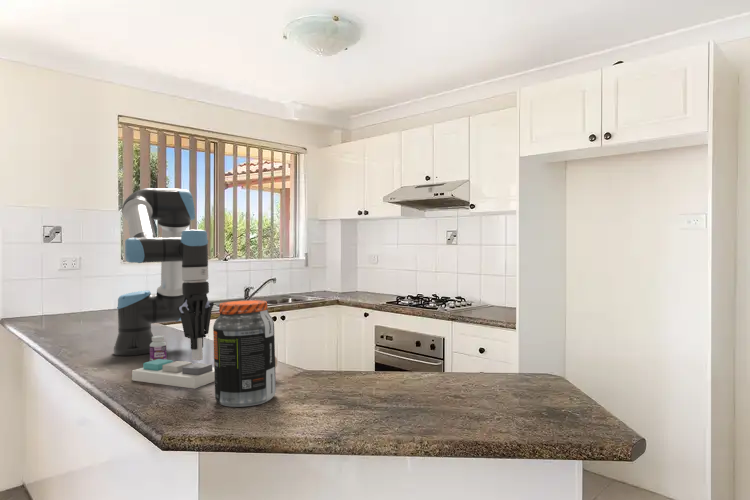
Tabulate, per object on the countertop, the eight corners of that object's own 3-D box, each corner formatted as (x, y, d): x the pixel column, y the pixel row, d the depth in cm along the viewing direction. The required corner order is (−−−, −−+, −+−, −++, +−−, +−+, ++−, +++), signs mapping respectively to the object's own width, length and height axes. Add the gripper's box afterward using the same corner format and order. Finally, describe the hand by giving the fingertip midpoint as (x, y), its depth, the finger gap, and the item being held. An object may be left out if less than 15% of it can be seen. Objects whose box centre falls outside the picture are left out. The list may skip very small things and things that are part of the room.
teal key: (158, 368, 165) (158, 358, 165) (172, 369, 162) (172, 360, 162) (143, 372, 159) (143, 363, 159) (157, 374, 157) (157, 364, 157)
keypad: (162, 371, 168) (162, 362, 168) (223, 378, 158) (222, 368, 158) (132, 380, 157) (131, 370, 157) (194, 388, 147) (194, 378, 147)
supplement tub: (288, 395, 139) (286, 300, 138) (246, 412, 125) (243, 307, 125) (245, 388, 147) (243, 297, 146) (201, 403, 133) (199, 304, 133)
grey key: (177, 370, 162) (177, 360, 162) (192, 371, 159) (192, 362, 159) (162, 374, 156) (162, 365, 156) (177, 376, 154) (177, 366, 154)
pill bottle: (155, 366, 175) (154, 338, 175) (147, 364, 178) (146, 336, 178) (169, 363, 179) (169, 336, 179) (161, 361, 182) (160, 334, 182)
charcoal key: (197, 372, 158) (197, 362, 158) (212, 374, 156) (212, 364, 156) (182, 377, 153) (182, 367, 153) (198, 379, 150) (197, 369, 150)
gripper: (188, 283, 146) (191, 365, 147) (220, 279, 158) (222, 356, 159) (169, 282, 150) (171, 363, 150) (201, 279, 161) (203, 354, 162)
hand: (197, 359), depth 154 cm, fingers closed
